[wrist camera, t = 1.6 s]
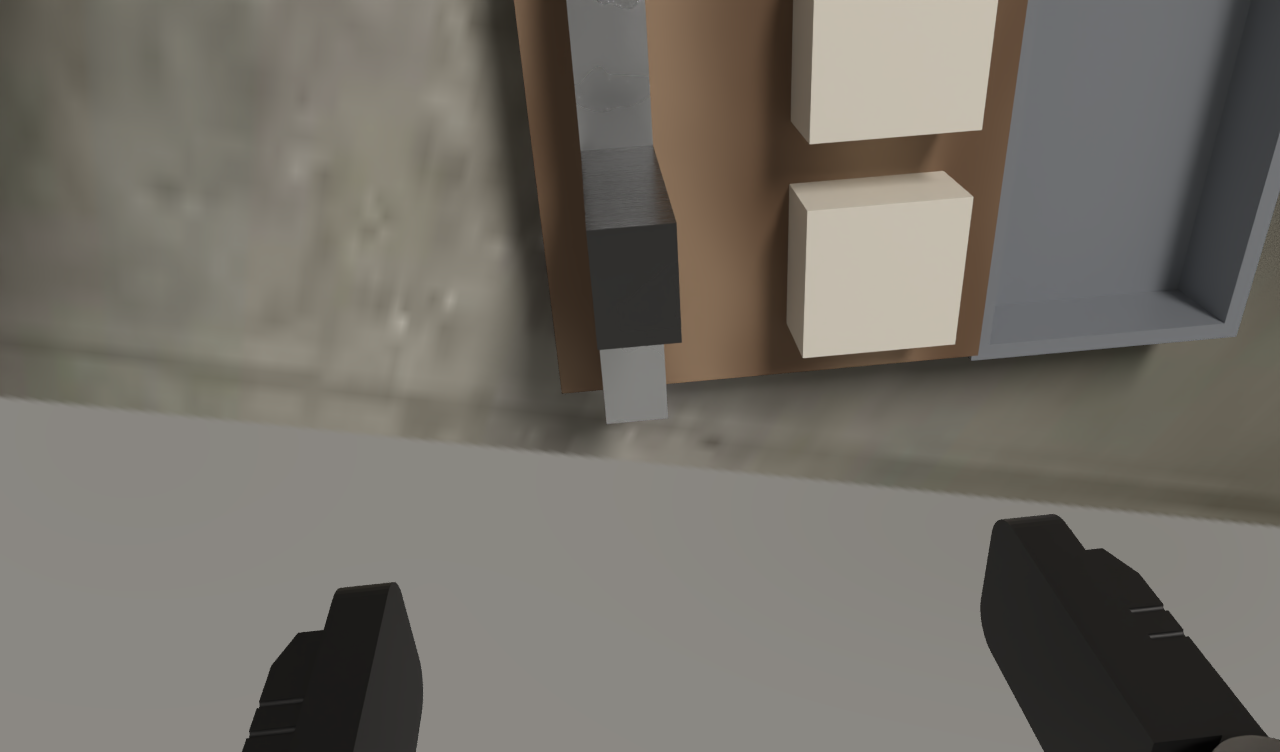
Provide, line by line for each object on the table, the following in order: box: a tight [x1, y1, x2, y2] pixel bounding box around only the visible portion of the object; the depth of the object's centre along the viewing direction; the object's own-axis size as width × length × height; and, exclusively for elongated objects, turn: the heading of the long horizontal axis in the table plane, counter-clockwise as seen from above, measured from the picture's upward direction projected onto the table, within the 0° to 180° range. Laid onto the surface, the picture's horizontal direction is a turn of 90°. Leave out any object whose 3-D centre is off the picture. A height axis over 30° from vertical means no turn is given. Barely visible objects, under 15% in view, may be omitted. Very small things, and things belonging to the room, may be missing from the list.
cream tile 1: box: [791, 0, 998, 144], centre depth 26 cm, size 5×5×2 cm
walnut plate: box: [514, 0, 1028, 394], centre depth 31 cm, size 15×16×4 cm
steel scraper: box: [566, 0, 682, 424], centre depth 25 cm, size 2×15×9 cm, turn 4°
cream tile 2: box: [786, 171, 973, 358], centre depth 30 cm, size 5×5×2 cm
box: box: [968, 0, 1280, 361], centre depth 31 cm, size 10×17×4 cm, turn 3°
